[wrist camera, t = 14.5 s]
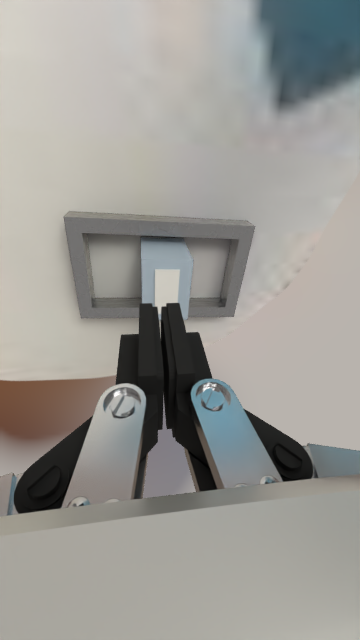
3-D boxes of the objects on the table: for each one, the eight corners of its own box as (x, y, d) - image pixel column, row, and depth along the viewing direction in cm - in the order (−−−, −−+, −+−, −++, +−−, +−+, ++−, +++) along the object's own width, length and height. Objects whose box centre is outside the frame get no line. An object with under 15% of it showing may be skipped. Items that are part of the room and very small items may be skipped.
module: (183, 238, 30) (193, 260, 24) (179, 290, 34) (187, 320, 28) (140, 237, 29) (141, 260, 23) (141, 290, 33) (142, 321, 27)
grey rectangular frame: (247, 220, 30) (255, 226, 28) (228, 307, 36) (233, 316, 34) (69, 211, 27) (63, 216, 25) (84, 307, 33) (81, 318, 31)
